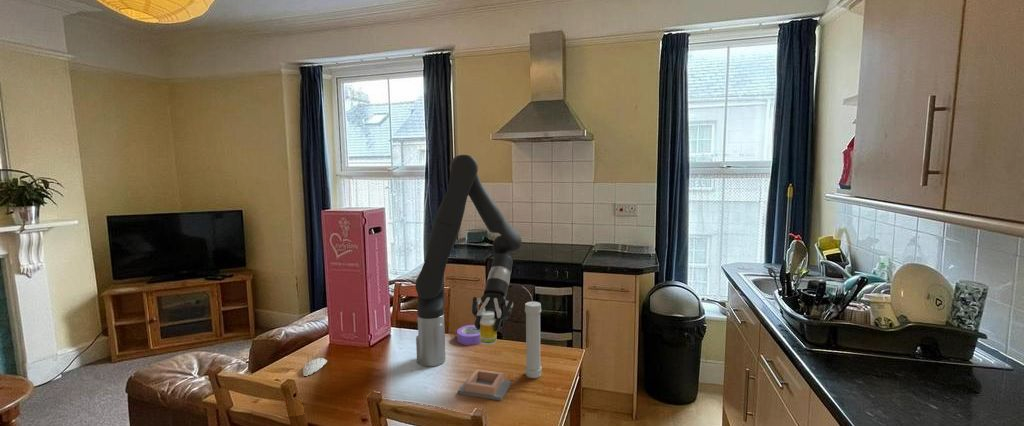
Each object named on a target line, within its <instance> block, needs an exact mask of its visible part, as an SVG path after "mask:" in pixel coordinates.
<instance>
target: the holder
mask: <svg viewBox="0 0 1024 426" xmlns="http://www.w3.org/2000/svg"><path fill="white" fill-rule="evenodd" d="M511 385H512V380H507V379H505V373H504V372H501V371H494V370H486V369H478V368H477V369H475V370H474V372H473V373H472V374H470V375H469V376H468V378H467V379H466V380H465V381H464V382H463V384H462V385H461V386H460V387H459V388H458V389H457V394H459V395H465V396H471V397H476V398H483V399H489V400H493V401H500V402H502V400H503V399H504V396H505V395H506V393H507V391H508V390H509V388H510V387H511Z"/></svg>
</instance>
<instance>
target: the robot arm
mask: <svg viewBox="0 0 1024 426" xmlns="http://www.w3.org/2000/svg"><path fill="white" fill-rule="evenodd" d="M478 171H479V166H478V162H477V161H476V159H475V158H474V157H473V156H471V155H469V154H458V155H456V156H454V157H453V158H452V159H451V161H450V162H449V173H450V175H449V181H448V185H447V189H446V192H445V195H444V197H443V199H442V200H441V203H440V205H439V207H438V209H437V210H436V211H437V212H436V214H435V217H434V220H433V223H432V226H431V230H430V235H429V239H428V243H427V245H428V246H427V249H426V250H427V251H426V256H425V259H424V263H423V265H422V266H421V267H422V268H421V270H420V273H419V274H418V276H417V278H416V281H415V284H414V285H415V290H416V291H415V292H416V293H417V311H416V312H417V314H416V315H417V334H418V335H417V336H416V337H415V345H416V348H415V349H416V363H418V364H419V365H422V366H424V367H436V366H440V365H442V364H443V363H445V361H446V335H445V334H446V333H445V287H444V285H445V284H444V283H445V282H444V281H445V280H444V277H445V276H444V275H445V271H446V268H447V265H448V264H447V263H448V260H449V259H450V257H451V253H452V251H453V249H454V246H455V244H456V241H457V239H458V236H459V233H460V229H461V226H462V222H463V218H464V215H465V210H466V204H467V200H468V197H469V198H470V199H471V202H472V203H473V205H474V207H475V209H476V210H477V211H476V212H478V215H479V217H480V218H481V220H482V221H483V223H484V225H485V227H486V228H487V230H488V231H489V233H491V234H499V235H498V236H496V237H495V239H494V240H493V242H492V256H493V257H492V263H491V266H490V267H491V268H490V270H489V272H488V276H487V280H486V284H485V287H484V291H483V294H482V296H481V297H479V298H478V297H476V296H474V297H473V298H472V306H471V307H472V308H471V314H472V315H473V317H475V321H474V325H475V327H476V329H477V330H479V329H480V320H481V319H482V312H484V311H493V312H494V313H495V312H496V317H495V319H496V321H495V325H494V331H495V332H497V333H498V331H500V329H501V324H502V321H508V320H509V317H510V315H511V313H512V311H513V308H514V306H515V305H514V301H513V300H511V299H509V300H507V294H508V290H509V286H510V280H511V272H512V268H513V265H514V264H513V263H514V262H513V260H514V259H513V258H512V256H511V255H509V253H513V252H516V251H518V250H520V249H521V247H522V244H523V243H522V241H523V240H522V237H521V235H520V234H519V232H518V231H517V230H516V229H515V228H514V227H513V226H512V225H511V223H509V222H508V221H507V220H506V219H505V217H504V216H503V214H502V212H501V211H500V209H499V207H498V206H497V204H496V202H495V201H494V199H493V198H492V197H491V195H490V194H489V192H487V190H486V188H485V186H484V184H483V183H482V182H481V179H480V177H479V175H478ZM480 304H481V306H480V308H479V305H480ZM504 306H506V307H505V310H504V311H503V314H502V308H503V307H504Z"/></svg>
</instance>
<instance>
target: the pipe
mask: <svg viewBox="0 0 1024 426" xmlns="http://www.w3.org/2000/svg"><path fill="white" fill-rule="evenodd" d="M521 287H522V288H523V289H525V290H526V291H527V293H529V296H530V297H531V301H527V302H526V303H525V304H524V313H525V335H526V336H525V338H526V339H525V345H526V346H525V349H526V350H525V354H526V355H525V357H526V358H525V359H526V365H525V367H524V368H525V376H526V377H527V378H530V379H538V378H541V376H542V369H543V367H542V365H541V361H542V360H541V313H542V304H541V302H539V301H534V300H533V296H532V294H531V293H530V291H529V290H528V289H527V288H526V287H525V286H521Z"/></svg>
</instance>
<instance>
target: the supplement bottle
mask: <svg viewBox="0 0 1024 426" xmlns="http://www.w3.org/2000/svg"><path fill="white" fill-rule="evenodd" d="M495 315H496V314H495V312H494V311H484V312H482V319H481V320H480V342H481V343H480V344H483V345H485V346H490V345H494V344H496V342H497V341H498V340H497V338H498V337H497V336H498V334H497V333H498V331H497V332H495V331H494V325H495V321H496V317H495Z"/></svg>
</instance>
